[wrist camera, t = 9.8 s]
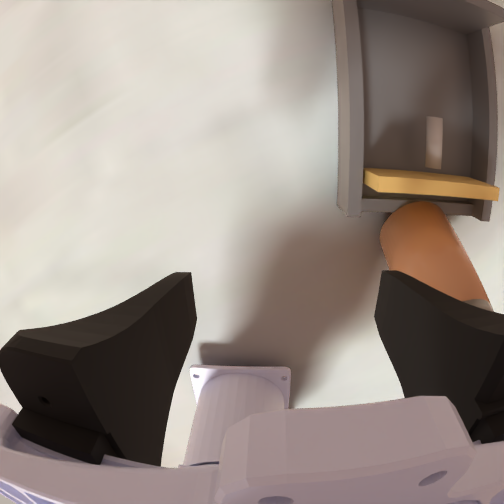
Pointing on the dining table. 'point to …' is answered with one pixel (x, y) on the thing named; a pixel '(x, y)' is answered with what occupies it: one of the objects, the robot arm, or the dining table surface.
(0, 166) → the dining table surface
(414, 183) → the tan pusher block
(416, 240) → the jar
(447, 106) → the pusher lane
